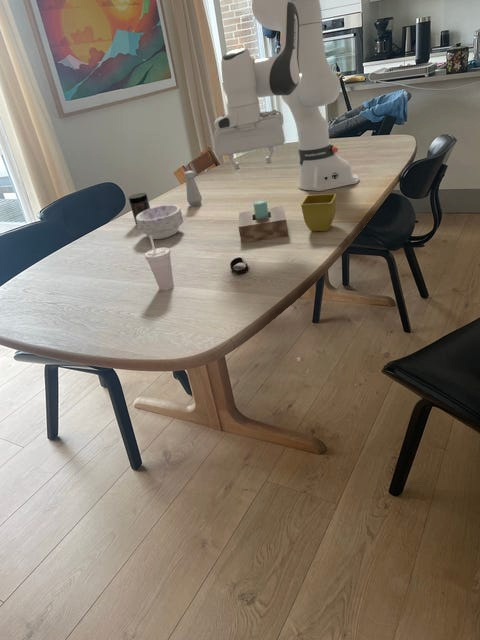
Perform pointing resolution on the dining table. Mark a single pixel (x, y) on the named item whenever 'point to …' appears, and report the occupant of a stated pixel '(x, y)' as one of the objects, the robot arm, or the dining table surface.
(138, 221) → the paper bowls
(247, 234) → the bore block
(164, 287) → the smoothie
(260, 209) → the dowel
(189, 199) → the salt shaker
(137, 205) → the supplement container
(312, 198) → the flower pot
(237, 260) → the watch
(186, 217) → the dining table surface
